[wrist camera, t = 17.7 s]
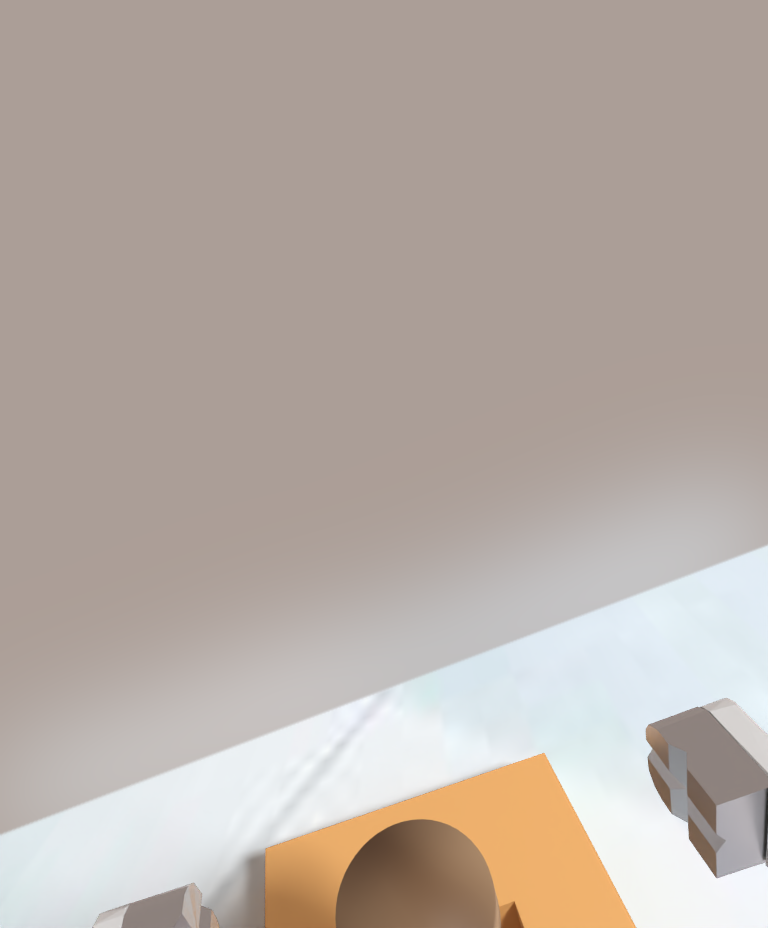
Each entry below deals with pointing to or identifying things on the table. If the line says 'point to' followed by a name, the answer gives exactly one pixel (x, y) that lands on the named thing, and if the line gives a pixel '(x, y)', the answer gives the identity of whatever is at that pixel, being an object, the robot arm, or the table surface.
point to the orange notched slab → (491, 830)
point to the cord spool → (418, 881)
